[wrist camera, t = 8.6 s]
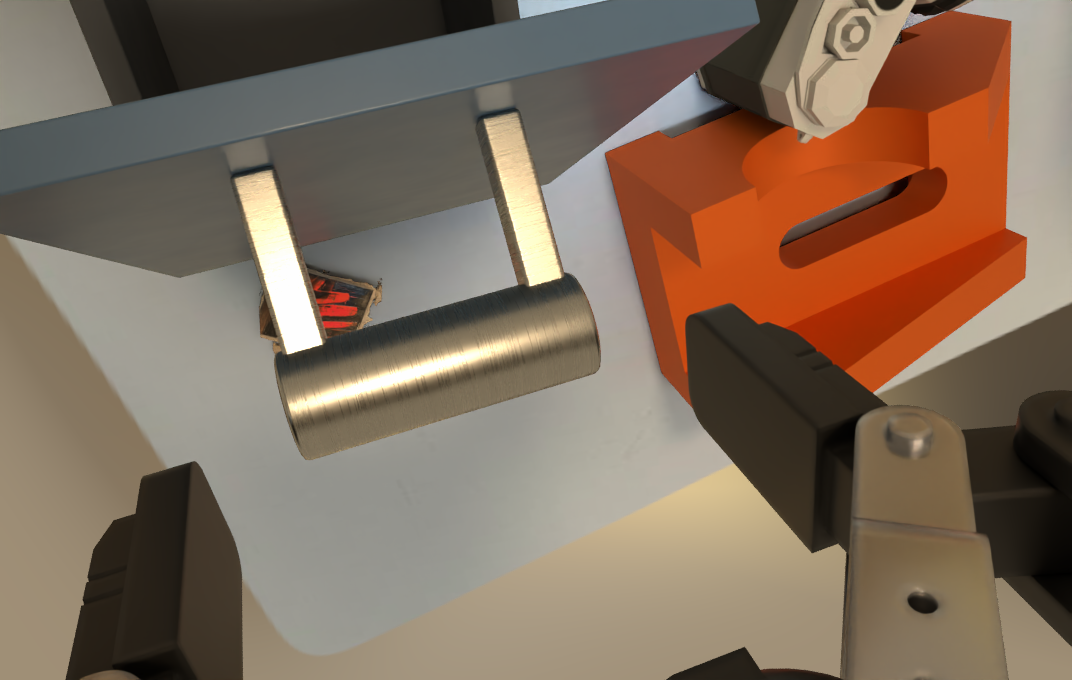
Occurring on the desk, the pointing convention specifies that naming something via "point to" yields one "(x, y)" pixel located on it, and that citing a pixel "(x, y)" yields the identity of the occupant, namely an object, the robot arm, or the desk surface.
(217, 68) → the open box
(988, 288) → the orange slotted stand
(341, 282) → the matchbox
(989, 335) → the desk surface
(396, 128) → the lid
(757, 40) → the camera
